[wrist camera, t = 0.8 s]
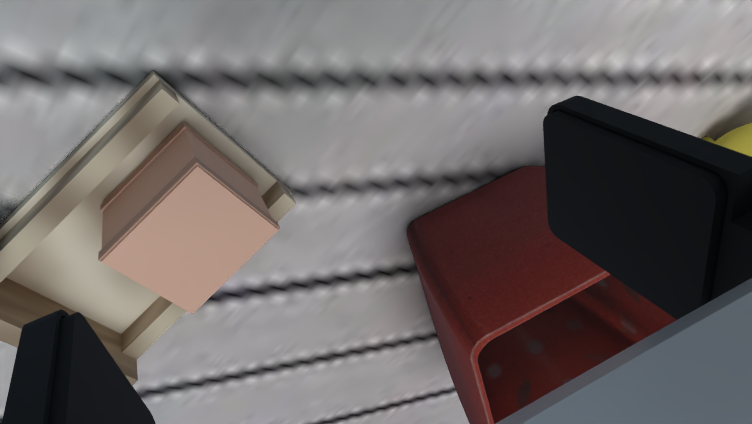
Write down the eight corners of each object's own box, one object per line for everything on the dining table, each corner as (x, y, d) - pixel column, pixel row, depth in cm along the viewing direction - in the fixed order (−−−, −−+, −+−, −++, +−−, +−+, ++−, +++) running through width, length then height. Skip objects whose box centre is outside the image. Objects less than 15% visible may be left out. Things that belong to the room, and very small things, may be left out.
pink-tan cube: (182, 119, 33) (197, 163, 27) (255, 180, 37) (281, 229, 31) (100, 202, 33) (98, 262, 28) (180, 253, 37) (192, 316, 31)
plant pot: (356, 208, 42) (470, 350, 29) (556, 112, 46) (740, 198, 33) (411, 360, 53) (512, 514, 40) (569, 273, 57) (710, 387, 43)
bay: (22, -43, 27) (-16, -21, 19) (288, 188, 39) (335, 262, 31) (-204, 191, 28) (-333, 309, 20) (125, 348, 40) (128, 462, 32)
